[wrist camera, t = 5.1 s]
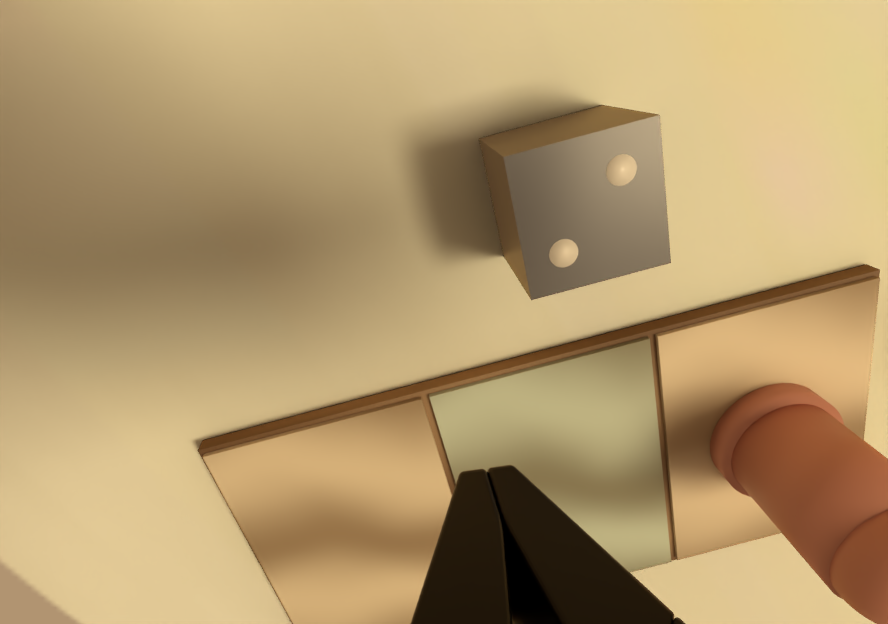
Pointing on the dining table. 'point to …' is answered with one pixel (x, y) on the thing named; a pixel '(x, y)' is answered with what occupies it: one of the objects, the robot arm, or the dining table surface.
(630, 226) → the die
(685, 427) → the board
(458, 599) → the robot arm
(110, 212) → the dining table surface
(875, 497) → the pawn
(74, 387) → the dining table surface
